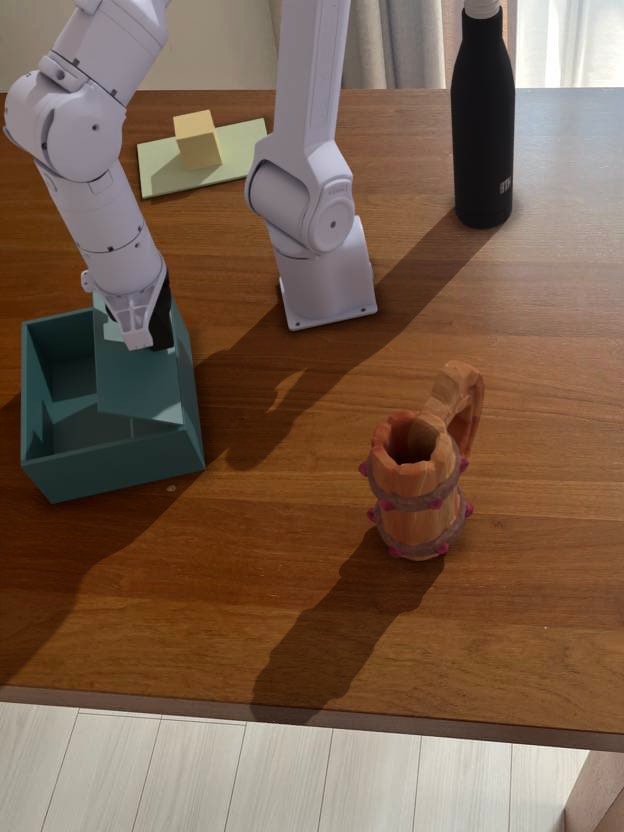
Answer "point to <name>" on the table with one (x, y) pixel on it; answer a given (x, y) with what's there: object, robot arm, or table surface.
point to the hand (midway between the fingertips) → (163, 344)
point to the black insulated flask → (483, 118)
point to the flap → (133, 375)
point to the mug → (425, 466)
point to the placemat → (169, 173)
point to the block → (197, 140)
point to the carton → (95, 416)
